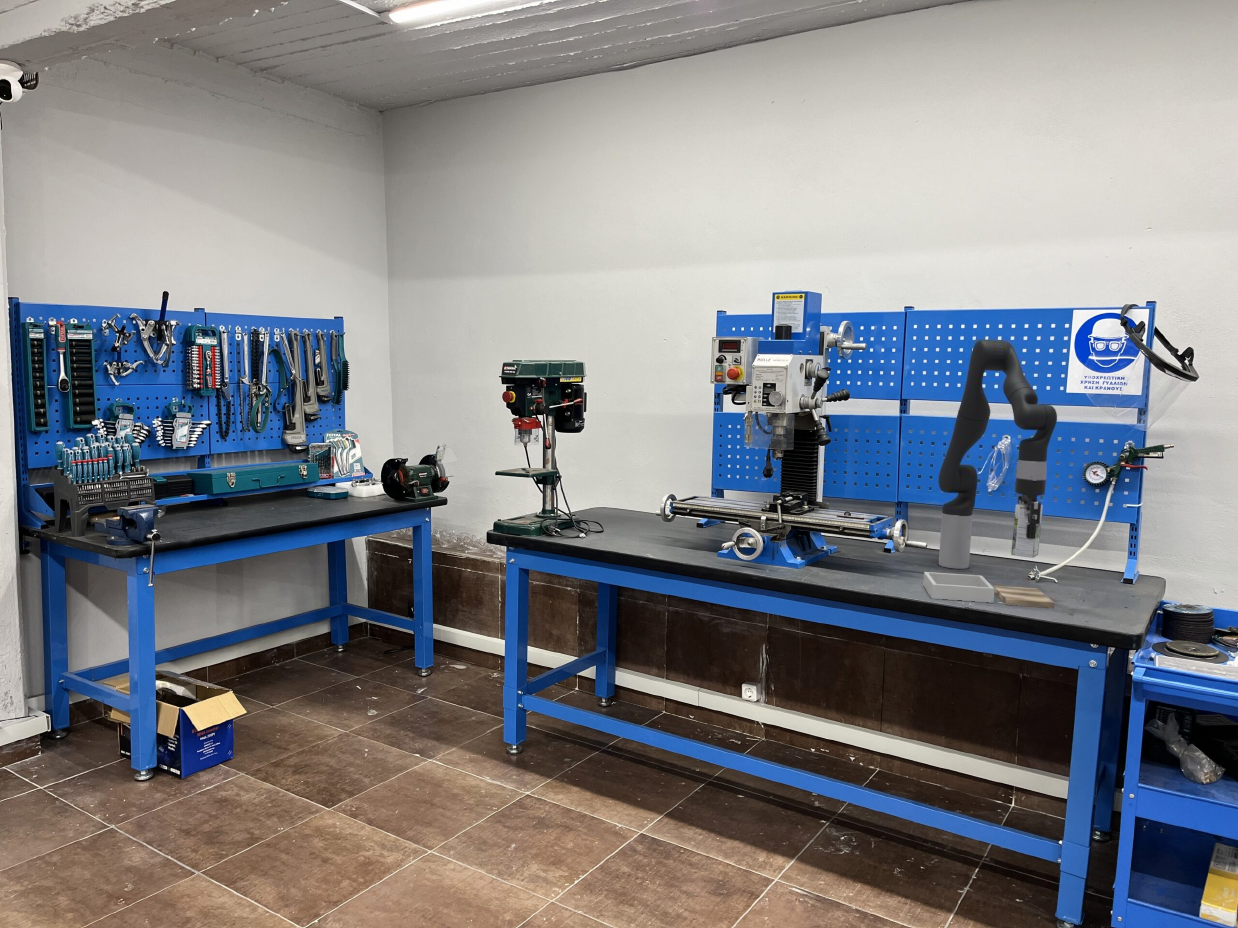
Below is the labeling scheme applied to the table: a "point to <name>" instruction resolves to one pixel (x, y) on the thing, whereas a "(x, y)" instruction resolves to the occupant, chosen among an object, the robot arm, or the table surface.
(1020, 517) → the syrup box
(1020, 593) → the board
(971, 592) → the parts tray
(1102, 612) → the table surface
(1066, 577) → the table surface
